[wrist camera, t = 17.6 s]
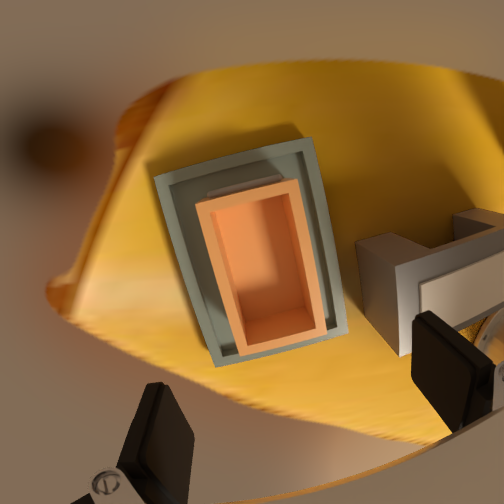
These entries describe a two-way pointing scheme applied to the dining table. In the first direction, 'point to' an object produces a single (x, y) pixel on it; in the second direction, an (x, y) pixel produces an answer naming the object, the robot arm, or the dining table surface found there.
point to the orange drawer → (263, 262)
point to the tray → (196, 253)
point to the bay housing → (433, 277)
